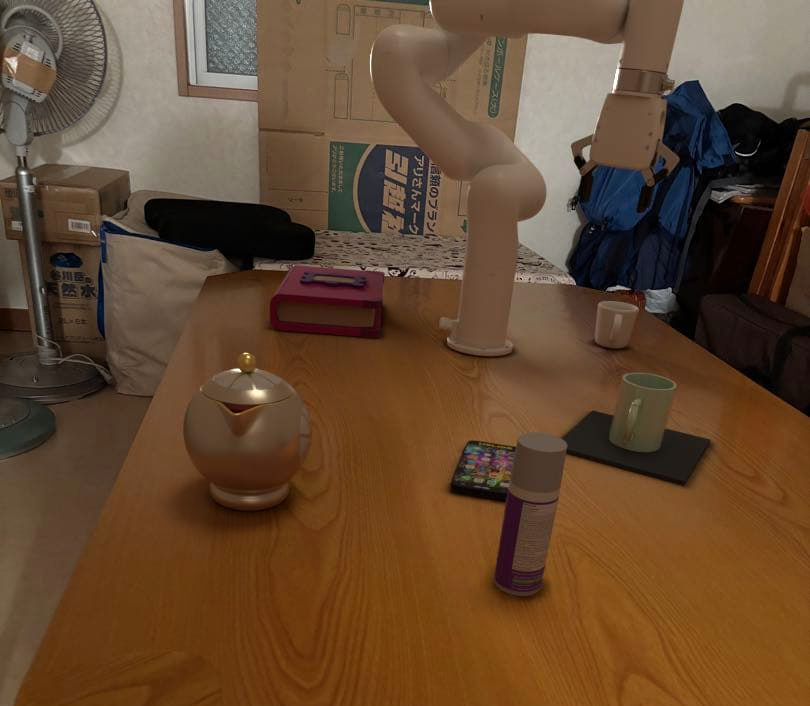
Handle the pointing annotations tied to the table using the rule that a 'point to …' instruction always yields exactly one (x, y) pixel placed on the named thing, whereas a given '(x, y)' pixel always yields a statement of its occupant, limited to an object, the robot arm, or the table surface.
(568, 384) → the table surface
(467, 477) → the smartphone
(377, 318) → the book
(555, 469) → the container
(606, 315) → the cup
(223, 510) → the table surface
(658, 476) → the mat
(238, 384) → the teapot
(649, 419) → the mug
